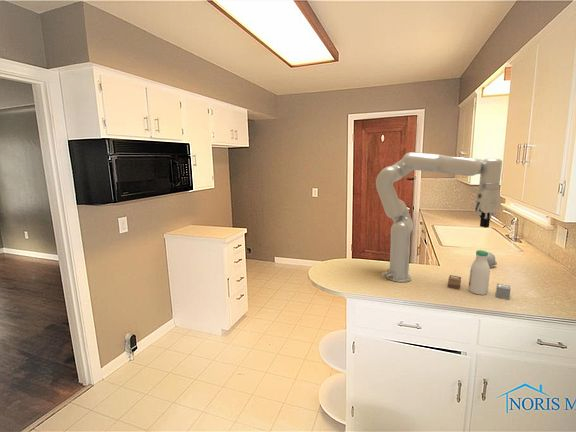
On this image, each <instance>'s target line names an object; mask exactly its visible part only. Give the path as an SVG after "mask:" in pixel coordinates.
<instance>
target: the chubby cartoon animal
mask: <svg viewBox="0 0 576 432" xmlns="http://www.w3.org/2000/svg"><path fill="white" fill-rule="evenodd" d="M487 252H488V257H487V262H488V264H489V267H490V269H492V268H494V266H496V265H497V264H498V262H497V261H496V256H495V254H494V253H493V252H489V251H487Z"/></svg>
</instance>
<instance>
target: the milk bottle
mask: <svg viewBox="0 0 576 432" xmlns="http://www.w3.org/2000/svg"><path fill="white" fill-rule="evenodd" d="M488 252H489V251H486V250H482V249H479V250H476V252H475V256H476V257H475V259H474V260H473V262H472V263H471V266H470V272H469V278H468V279H469V282H468V291H469V292H470V293H472V294H475V295H483V296H485V295H487V294H488V291H489V281H490V276H491V275H490V273H491V271H490V270H491V268H490V267H489V264H488V262H487V257H488Z"/></svg>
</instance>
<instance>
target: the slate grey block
mask: <svg viewBox="0 0 576 432" xmlns="http://www.w3.org/2000/svg"><path fill="white" fill-rule="evenodd" d="M510 297H511V285H508V284H503V283H498V282H497V283H496V289H495V298H499V299H503V300H506V301H507V300H510Z"/></svg>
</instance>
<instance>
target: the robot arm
mask: <svg viewBox="0 0 576 432" xmlns="http://www.w3.org/2000/svg"><path fill="white" fill-rule="evenodd" d="M502 168H503V160H502V159H501V158H484V159H481V158H480V159H478V158H470V157H469V158H468V157H457V156H449V155H445V154H439V153H438V154H437V153H427V152H426V153H425V152H416V151H415V152H414V151H409V152H407V153H405V154H404V155H403V157H402V159H400V160H398V161H397V162H395V163H394V164H392V165H390V166H386V167H384V168H382V169H381V171H380V172H379V173H378V174H377V176H376V180H375V188H376V191H377V194H378V196H379V198H380V202H381V205H382V207H383V211H384V213H385V215H386V216H387V217H388V218H389V219H392V222H393V224H392V225H391V227H390V251H389V253H390V254H389V268H388V269H387V271H382V272H381V275H382V276H383V277H384V276H385V277H386V279H388V280H389V281H393V282H396V283H406V282H407V283H408V282H410V281H411V280H412V276H411V275H410V274H409V271H410V270H409V269H410V268H409V266H410V253H411V252H410V249H411V234H412V232H413V229H414V222H413V220H412V217H411V216H412V215H411V214H410V211H409V209H408V206H407V205H406V203H405V202H404V200H402V199H400V198H399V196H398V194H397V191H396V189H395V187H394V183H395V182H398V181H399V180H401V179H403V178H404V177H405V176H407V175H409V174H411V173H412V172H413V171H421V172H429V173H430V172H431V173H437V174H449V175H460V176H467V177H471V176H472V177H473V176H476V175H480V176H479V184H478V190H477V193H476V197H475V203H474V210H475V215H476V216H477V215H478V216H479V219H480V221H479V227H481V228H485V229H486V228H490V220H491V218H492V215H495V214H496V213H498V212H500V208H501V190H500V184H501V183H500V182H501V177H502V176H501V175H502Z"/></svg>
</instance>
